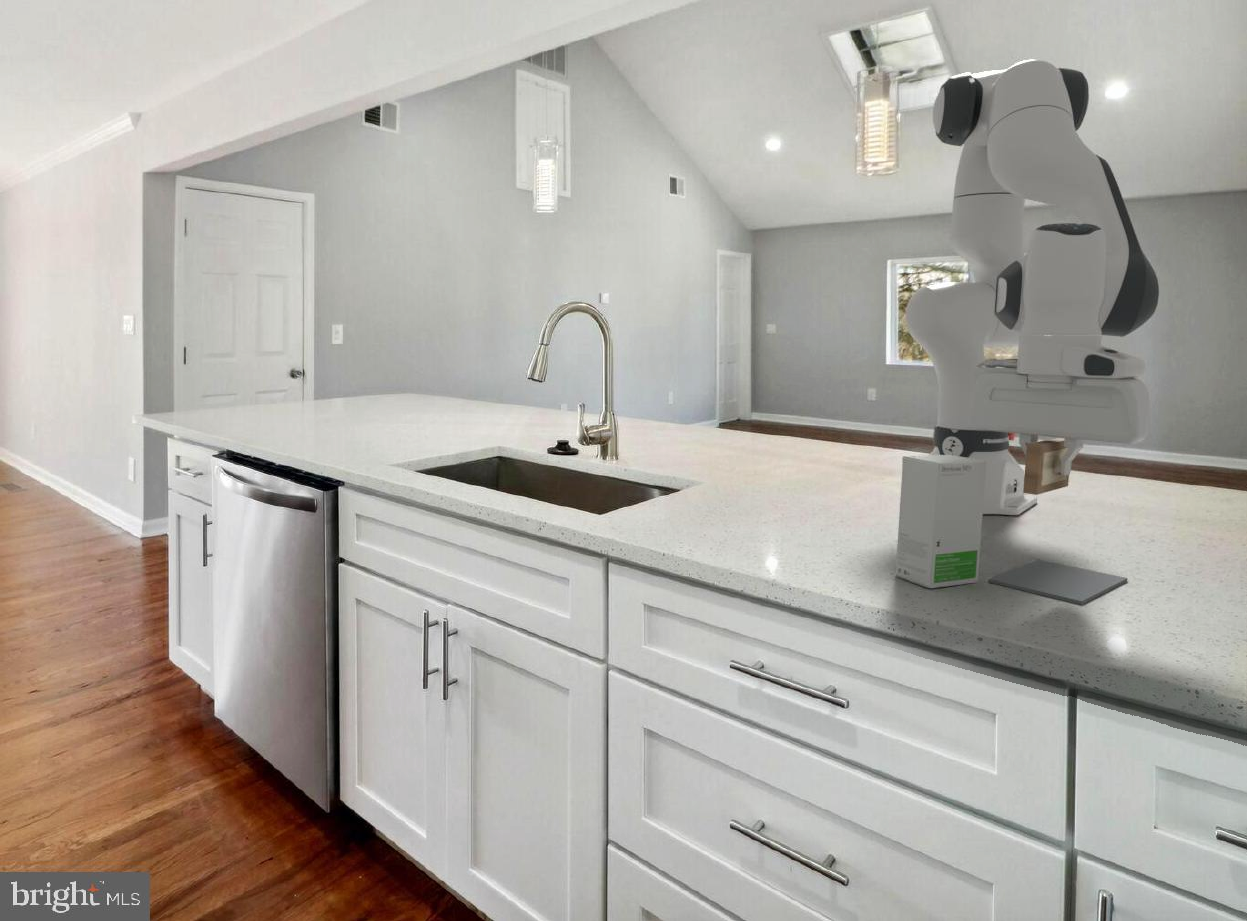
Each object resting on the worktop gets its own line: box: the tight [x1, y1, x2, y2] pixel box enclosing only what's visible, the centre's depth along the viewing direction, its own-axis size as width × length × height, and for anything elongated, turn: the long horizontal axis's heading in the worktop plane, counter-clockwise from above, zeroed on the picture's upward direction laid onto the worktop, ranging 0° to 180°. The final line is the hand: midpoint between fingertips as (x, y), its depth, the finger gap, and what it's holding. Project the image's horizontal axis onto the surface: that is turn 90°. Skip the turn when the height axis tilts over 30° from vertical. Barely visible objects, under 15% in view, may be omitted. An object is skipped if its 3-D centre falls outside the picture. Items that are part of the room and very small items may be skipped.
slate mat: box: [987, 558, 1128, 605], centre depth 103 cm, size 14×11×1 cm
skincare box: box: [895, 454, 987, 589], centre depth 103 cm, size 8×7×16 cm
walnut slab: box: [1023, 437, 1070, 496], centre depth 102 cm, size 9×2×6 cm, turn 130°
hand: (1048, 472), depth 102 cm, fingers closed on walnut slab, 2 cm apart
